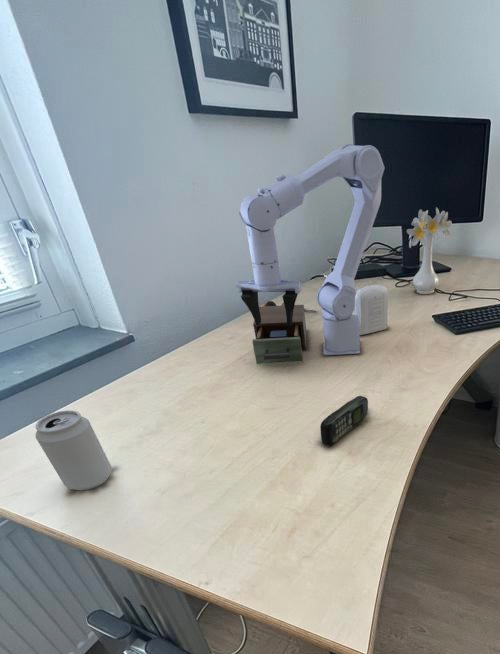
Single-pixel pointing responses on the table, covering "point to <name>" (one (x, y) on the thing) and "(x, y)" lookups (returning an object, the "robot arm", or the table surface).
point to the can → (73, 449)
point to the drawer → (278, 345)
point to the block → (279, 334)
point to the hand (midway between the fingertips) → (274, 323)
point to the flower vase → (428, 247)
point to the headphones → (271, 303)
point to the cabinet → (283, 319)
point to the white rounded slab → (371, 308)
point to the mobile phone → (343, 420)
